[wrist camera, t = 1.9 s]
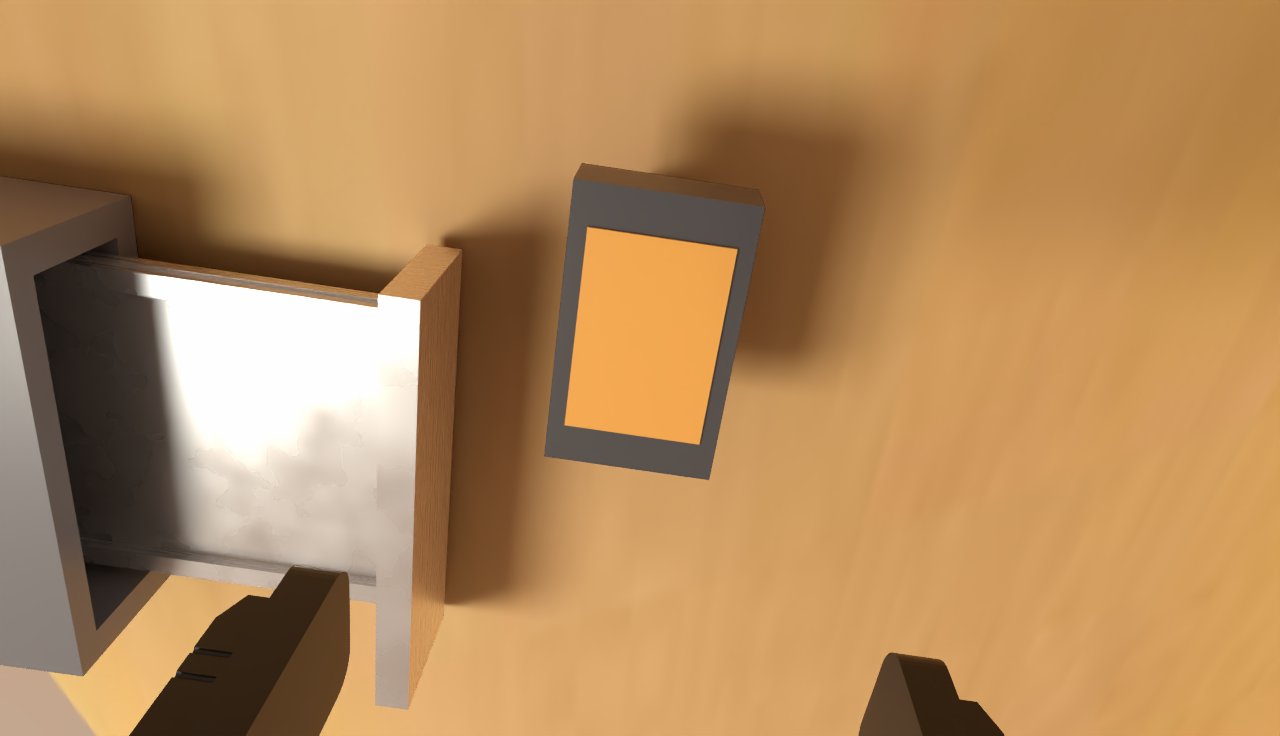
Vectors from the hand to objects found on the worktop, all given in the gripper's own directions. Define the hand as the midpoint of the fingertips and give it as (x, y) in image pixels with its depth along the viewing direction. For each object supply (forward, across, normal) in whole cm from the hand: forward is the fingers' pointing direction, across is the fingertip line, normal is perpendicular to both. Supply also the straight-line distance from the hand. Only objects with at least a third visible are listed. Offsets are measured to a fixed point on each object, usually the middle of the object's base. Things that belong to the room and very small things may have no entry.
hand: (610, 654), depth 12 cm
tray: (+18, +14, +8) cm, 24 cm away
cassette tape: (+14, 0, 0) cm, 14 cm away
